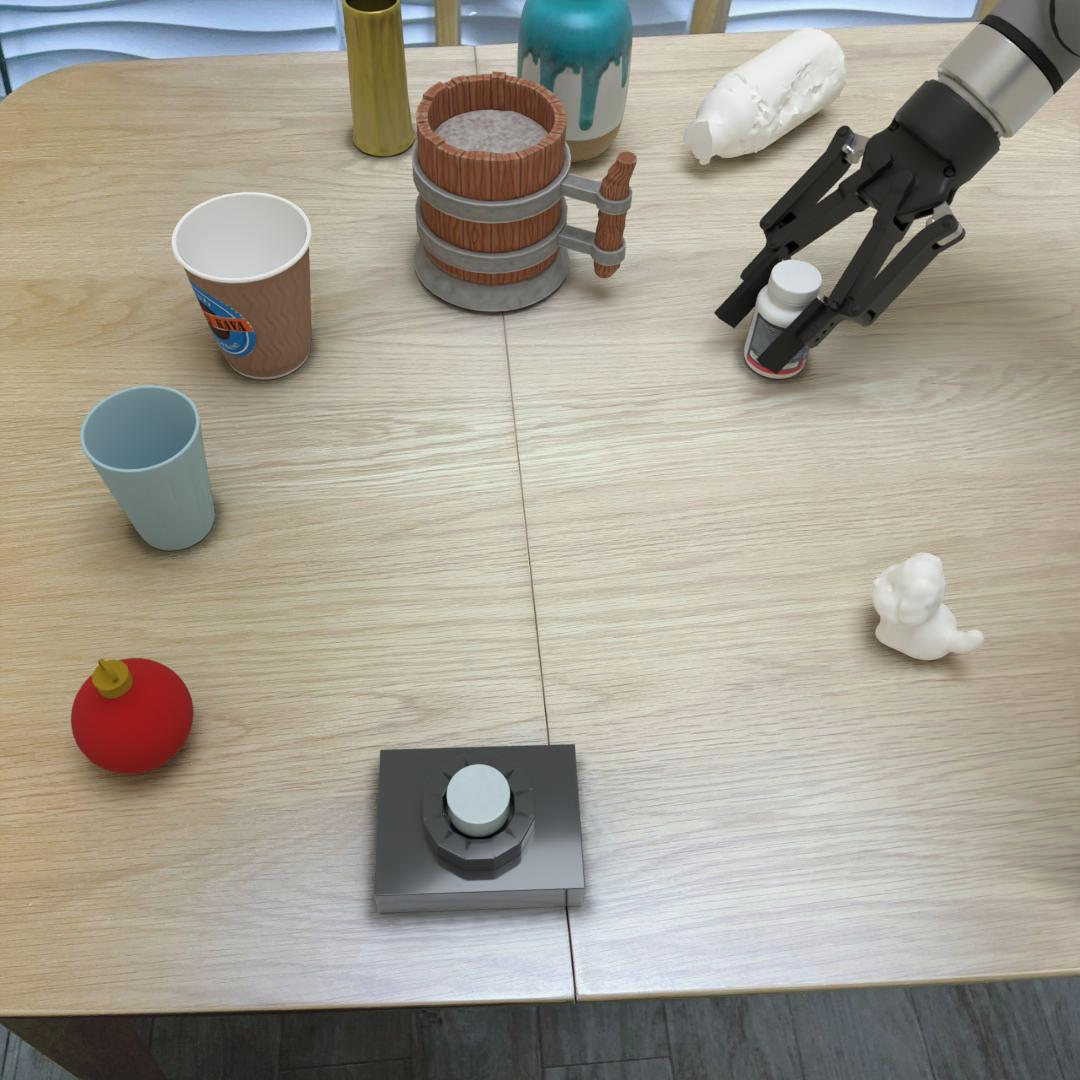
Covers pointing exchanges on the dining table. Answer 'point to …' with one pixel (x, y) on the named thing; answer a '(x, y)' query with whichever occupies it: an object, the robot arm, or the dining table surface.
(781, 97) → the white bottle
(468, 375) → the dining table surface
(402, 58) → the vase
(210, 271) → the coffee cup
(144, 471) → the cup
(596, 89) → the vase
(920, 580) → the figurine
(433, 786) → the push button box
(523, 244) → the mug
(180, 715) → the christmas ornament
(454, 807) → the grey short cylinder
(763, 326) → the pill bottle
